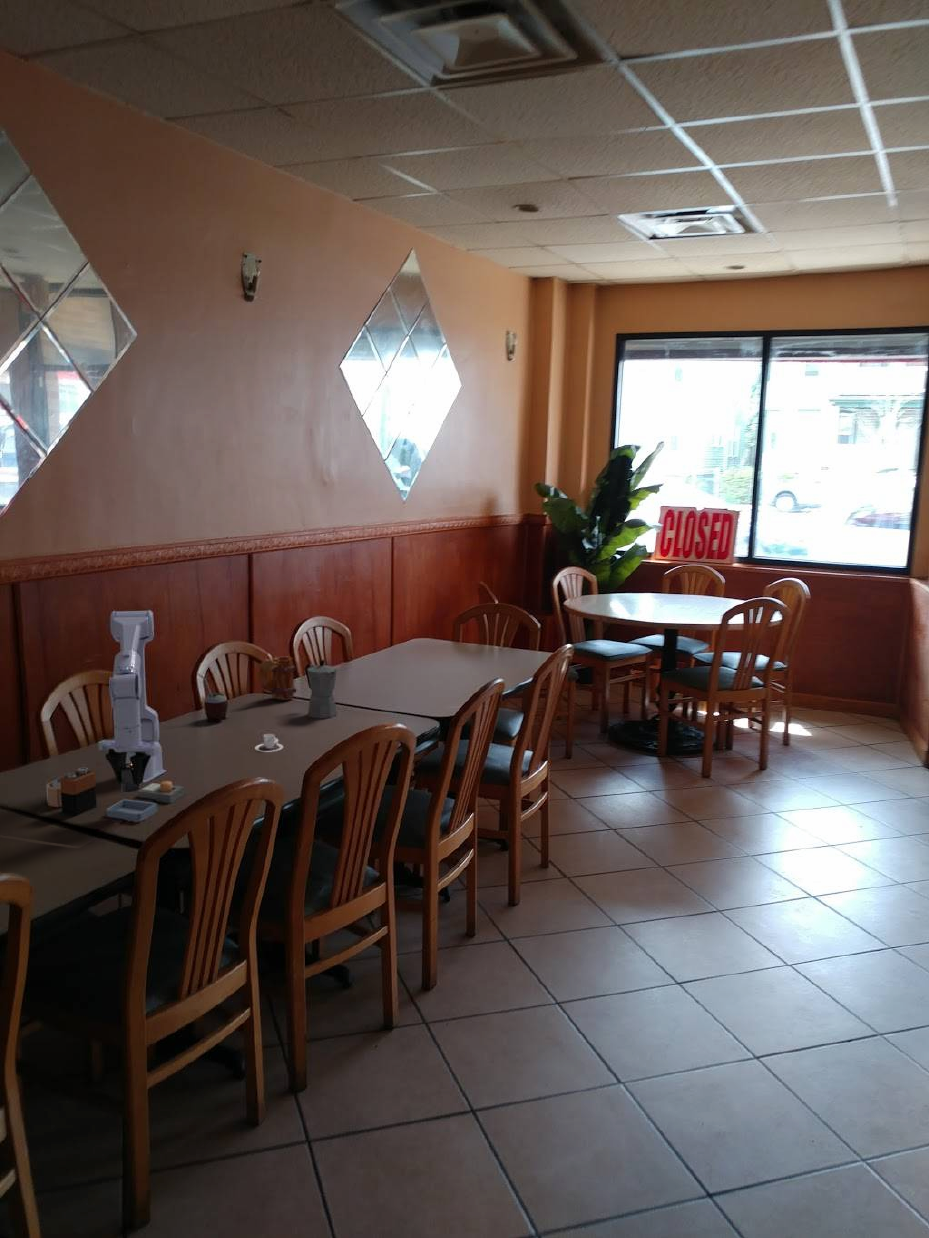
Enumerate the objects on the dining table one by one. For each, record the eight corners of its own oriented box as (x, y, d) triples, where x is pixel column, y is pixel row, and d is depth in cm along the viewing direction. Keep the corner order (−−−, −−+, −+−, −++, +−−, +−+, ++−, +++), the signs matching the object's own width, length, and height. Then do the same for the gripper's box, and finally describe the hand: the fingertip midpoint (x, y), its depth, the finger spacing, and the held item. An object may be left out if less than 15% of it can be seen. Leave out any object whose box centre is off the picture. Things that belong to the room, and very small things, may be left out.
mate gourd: (231, 721, 291) (230, 674, 289) (207, 725, 287) (205, 677, 284) (222, 715, 297) (220, 669, 295) (198, 719, 293) (196, 672, 290)
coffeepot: (346, 716, 299) (346, 661, 295) (322, 722, 292) (321, 665, 289) (318, 706, 310) (317, 653, 306) (294, 711, 303) (293, 657, 300)
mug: (285, 694, 324) (284, 651, 321) (301, 698, 319) (301, 655, 316) (252, 703, 312) (251, 658, 309) (269, 707, 307) (268, 662, 305)
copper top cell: (127, 785, 219) (126, 760, 218) (143, 786, 218) (142, 762, 217) (117, 791, 215) (116, 766, 214) (133, 792, 214) (132, 767, 213)
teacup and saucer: (270, 742, 273) (269, 728, 272) (291, 747, 269) (290, 733, 268) (248, 750, 266) (248, 736, 265) (269, 755, 262) (269, 741, 261)
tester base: (184, 794, 231) (184, 785, 230) (170, 803, 225) (170, 794, 224) (152, 790, 233) (151, 781, 232) (137, 798, 227) (137, 790, 227)
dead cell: (61, 797, 226) (59, 773, 225) (75, 799, 225) (73, 775, 224) (49, 803, 222) (48, 779, 221) (64, 805, 221) (62, 781, 220)
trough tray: (124, 807, 222) (123, 799, 222) (157, 811, 220) (157, 803, 219) (105, 818, 215) (105, 809, 215) (139, 822, 213) (139, 814, 213)
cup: (60, 797, 227) (59, 777, 226) (83, 800, 226) (81, 780, 225) (42, 806, 221) (40, 786, 220) (65, 809, 220) (64, 789, 219)
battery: (97, 808, 221) (95, 767, 219) (75, 818, 215) (73, 777, 213) (83, 805, 223) (81, 765, 221) (61, 815, 217) (58, 774, 215)
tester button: (164, 792, 230) (164, 780, 229) (174, 793, 229) (174, 781, 229) (158, 796, 227) (157, 784, 227) (168, 797, 227) (167, 785, 226)
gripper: (88, 727, 212) (91, 784, 214) (144, 733, 208) (147, 791, 210) (108, 718, 218) (111, 774, 221) (163, 724, 215) (165, 781, 217)
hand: (130, 782), depth 216 cm, fingers closed on copper top cell, 4 cm apart
